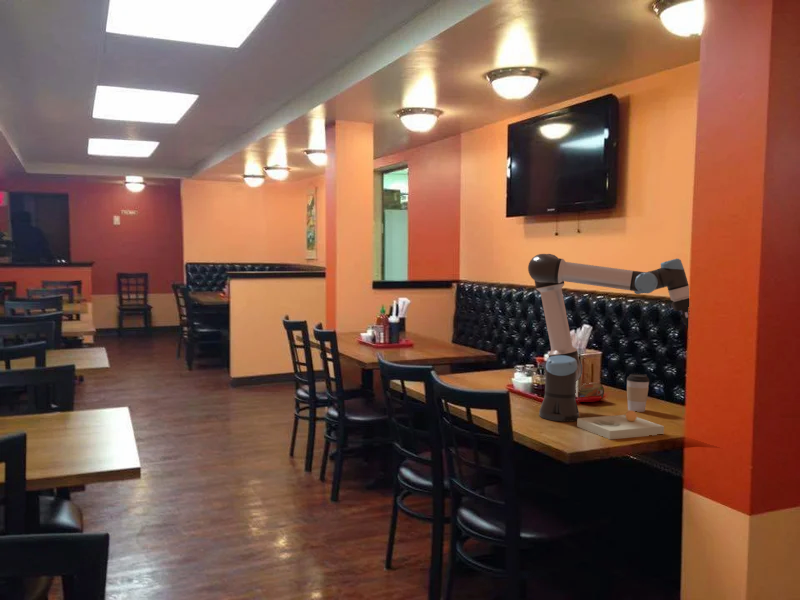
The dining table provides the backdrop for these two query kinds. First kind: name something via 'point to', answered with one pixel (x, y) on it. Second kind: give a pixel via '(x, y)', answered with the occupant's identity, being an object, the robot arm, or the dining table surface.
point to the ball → (631, 416)
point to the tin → (591, 390)
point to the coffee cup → (637, 392)
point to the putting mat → (619, 427)
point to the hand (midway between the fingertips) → (698, 352)
